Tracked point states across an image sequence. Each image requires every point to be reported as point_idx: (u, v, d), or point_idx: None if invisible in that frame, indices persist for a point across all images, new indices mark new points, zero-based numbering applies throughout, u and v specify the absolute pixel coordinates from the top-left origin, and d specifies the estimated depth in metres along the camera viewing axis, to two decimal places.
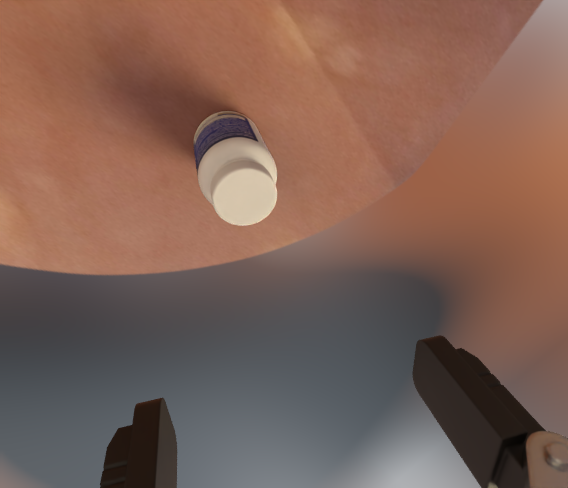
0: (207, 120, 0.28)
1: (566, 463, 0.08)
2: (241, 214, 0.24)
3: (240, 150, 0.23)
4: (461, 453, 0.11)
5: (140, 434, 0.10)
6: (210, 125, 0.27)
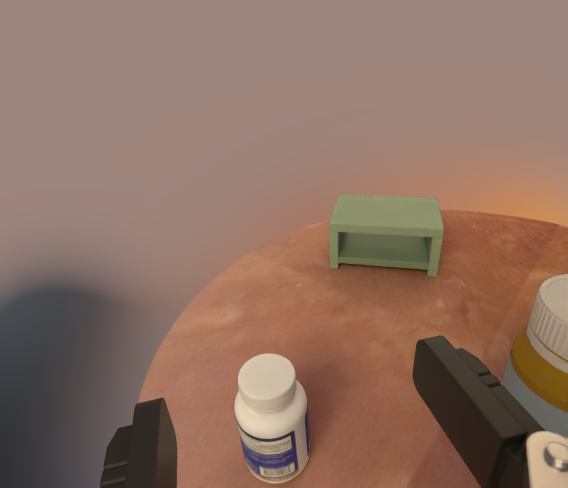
0: None
1: (566, 463, 0.08)
2: (250, 374, 0.26)
3: (299, 391, 0.27)
4: (461, 454, 0.11)
5: (140, 434, 0.10)
6: None
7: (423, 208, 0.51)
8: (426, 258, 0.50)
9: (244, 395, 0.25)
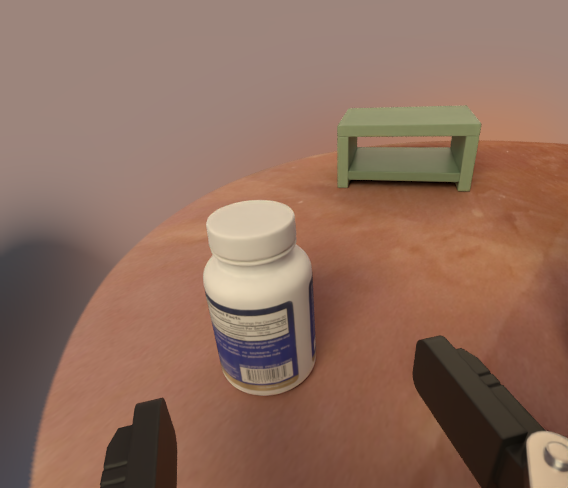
0: None
1: (566, 463, 0.08)
2: (225, 217, 0.17)
3: (300, 252, 0.18)
4: (461, 453, 0.11)
5: (140, 434, 0.10)
6: None
7: (451, 112, 0.42)
8: (456, 169, 0.41)
9: (214, 239, 0.16)
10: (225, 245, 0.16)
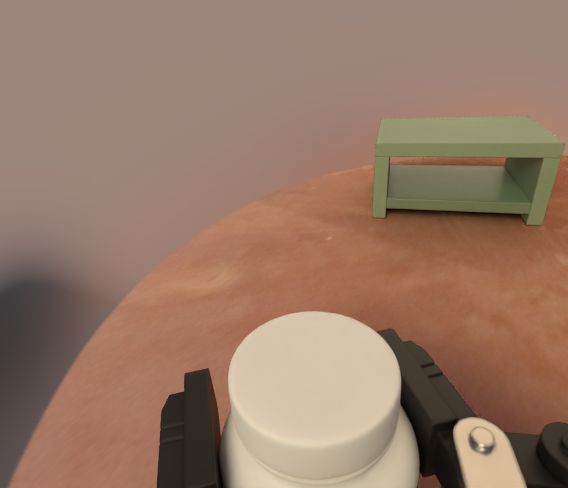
0: None
1: (487, 446, 0.08)
2: (264, 363, 0.09)
3: None
4: None
5: (193, 398, 0.10)
6: None
7: (515, 126, 0.34)
8: (524, 197, 0.33)
9: (247, 429, 0.08)
10: (271, 449, 0.08)
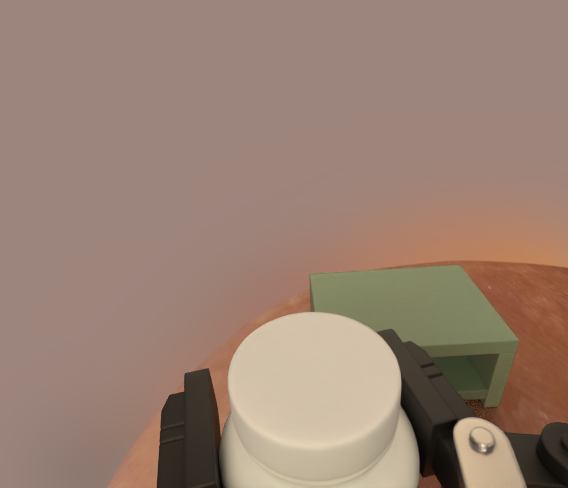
0: None
1: (487, 446, 0.08)
2: (264, 364, 0.09)
3: None
4: None
5: (193, 398, 0.10)
6: None
7: (455, 292, 0.32)
8: (478, 378, 0.30)
9: (247, 430, 0.08)
10: (271, 450, 0.08)
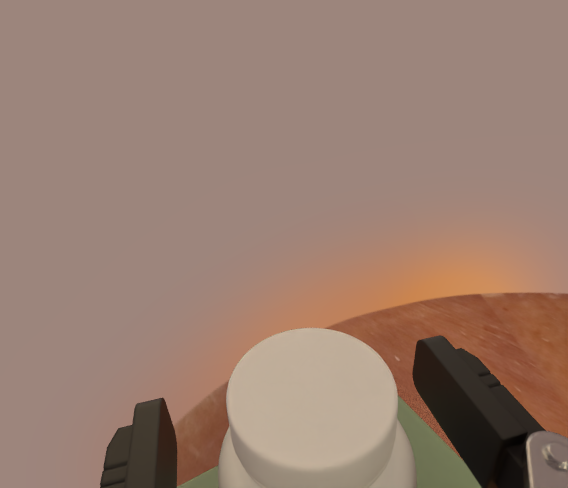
0: None
1: (566, 463, 0.08)
2: (262, 382, 0.09)
3: None
4: (461, 454, 0.11)
5: (140, 434, 0.10)
6: None
7: None
8: None
9: (245, 451, 0.08)
10: (269, 471, 0.08)
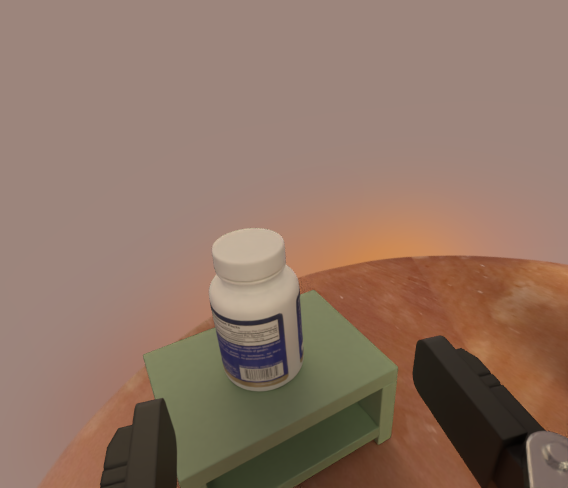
0: None
1: (566, 463, 0.08)
2: (227, 244, 0.21)
3: (289, 272, 0.22)
4: (461, 453, 0.11)
5: (140, 434, 0.10)
6: None
7: (319, 326, 0.28)
8: (365, 415, 0.27)
9: (218, 263, 0.20)
10: (227, 268, 0.19)
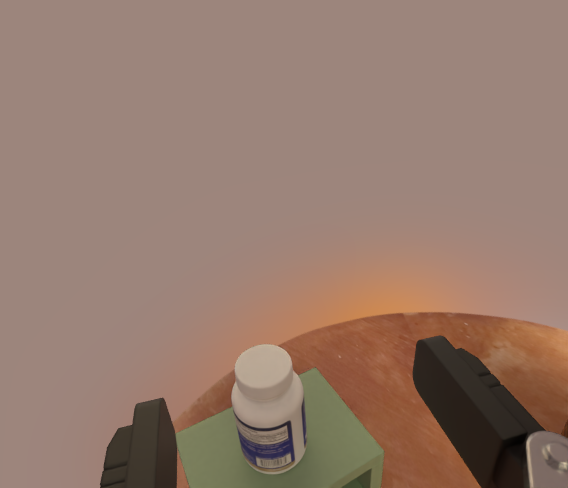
0: None
1: (566, 463, 0.08)
2: (247, 364, 0.26)
3: (296, 381, 0.27)
4: (461, 454, 0.11)
5: (140, 434, 0.10)
6: None
7: (320, 407, 0.33)
8: (358, 484, 0.32)
9: (241, 384, 0.25)
10: (248, 390, 0.25)
